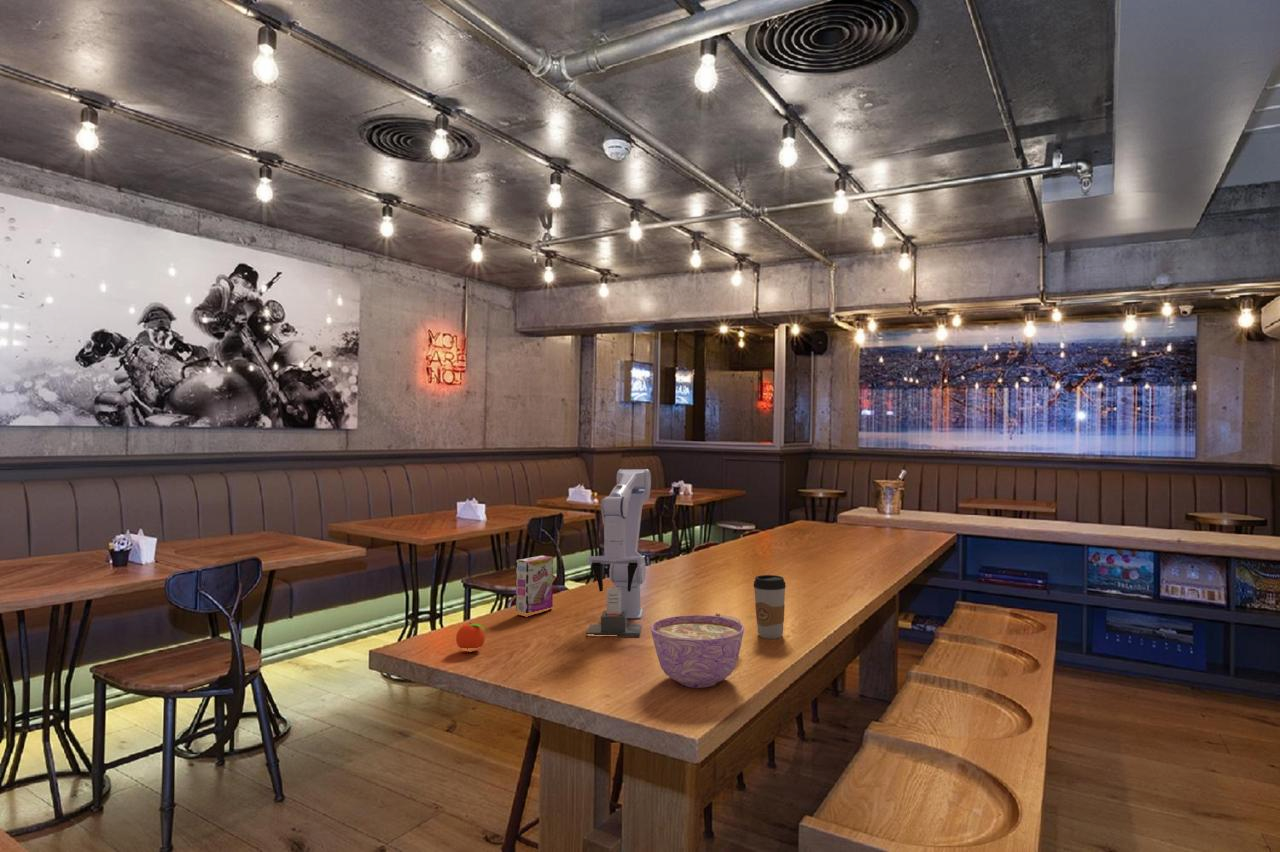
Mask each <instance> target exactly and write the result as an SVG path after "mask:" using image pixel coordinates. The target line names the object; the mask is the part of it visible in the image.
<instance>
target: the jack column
mask: <svg viewBox="0 0 1280 852" xmlns="http://www.w3.org/2000/svg"><path fill="white" fill-rule="evenodd" d="M606 611H607V615H619V616H622V600H621V587H616V586H614V587H613V586H612V587H611V586H609V587H607V588H606ZM607 615H606V616H607Z"/></svg>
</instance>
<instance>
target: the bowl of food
mask: <svg viewBox="0 0 1280 852" xmlns="http://www.w3.org/2000/svg"><path fill="white" fill-rule="evenodd" d="M650 632H651V635H652V636H651V637H652V640H653V643H654V648H655V651H656V656H657V660H658V662H659V664H660V665H659V666H660V669H661V670H662V671H663V673H664V674H665V676H667V677H669V678H671V679H672V680H674V681H676V682H678V683H679V684H681V685H682V686H686V687H688V688H696V689H698V688H701V689H702V688H708V687H709V688H710V687H712V686H715V685H716V684H717V683H719V682H721V681H723V680H725V679H727V678H728V677H729V676H731V675H732V673H733V671H734V670H735V668H736V665H737V663H738V659H739V655H740V650H741V646H742V641H743V637H744V633H745V626H744V625H743V624H742V623H741V622H740V623H739V622H737V621H735V620H732V619H728V618H724V617H718V616H709V614H708V615H705V614H704V615H703V614H692V615H691V614H688V615H687V614H686V615H685V614H684V615H677V616H675V615H674V616H669V617H666V618H662V619H659V620H656V621H654V622H653V623H652V624H651V625H650Z"/></svg>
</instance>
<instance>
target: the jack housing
mask: <svg viewBox="0 0 1280 852" xmlns="http://www.w3.org/2000/svg"><path fill="white" fill-rule="evenodd" d="M606 615H607V610H603V611H602V614H601V615H600V624H589V627H588V629H587V630H586V632H585V633H586V634H594V635H617V636H636V637H635V638H638V637H639V638H640V636H641V633H642V630H641V629H643V626H642V625H643V624H628V618H627V611H622V616H619V615H607V616H606Z"/></svg>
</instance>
